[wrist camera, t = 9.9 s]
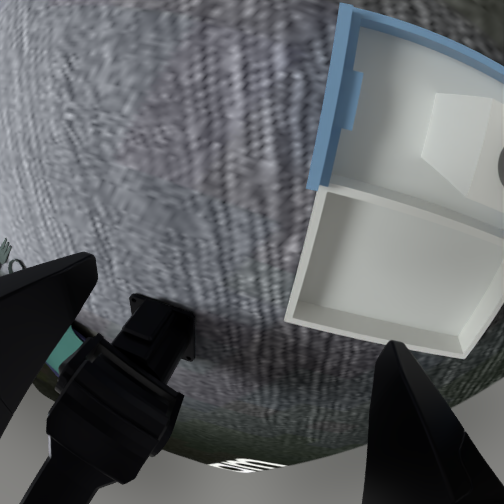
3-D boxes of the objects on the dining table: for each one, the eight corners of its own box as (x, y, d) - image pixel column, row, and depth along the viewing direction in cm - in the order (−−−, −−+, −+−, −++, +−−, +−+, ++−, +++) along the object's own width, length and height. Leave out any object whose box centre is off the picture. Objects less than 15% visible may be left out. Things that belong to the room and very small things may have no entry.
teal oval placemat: (99, 404, 46) (93, 413, 44) (-9, 276, 38) (-18, 283, 36) (163, 399, 37) (156, 412, 35) (16, 220, 29) (2, 228, 27)
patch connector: (475, 178, 15) (550, 244, 7) (420, 157, 15) (482, 214, 8) (491, 118, 12) (582, 150, 5) (435, 93, 13) (514, 101, 6)
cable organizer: (458, 338, 21) (467, 369, 18) (281, 297, 23) (272, 329, 20) (553, 111, 10) (584, 120, 7) (339, 15, 13) (340, -2, 10)
